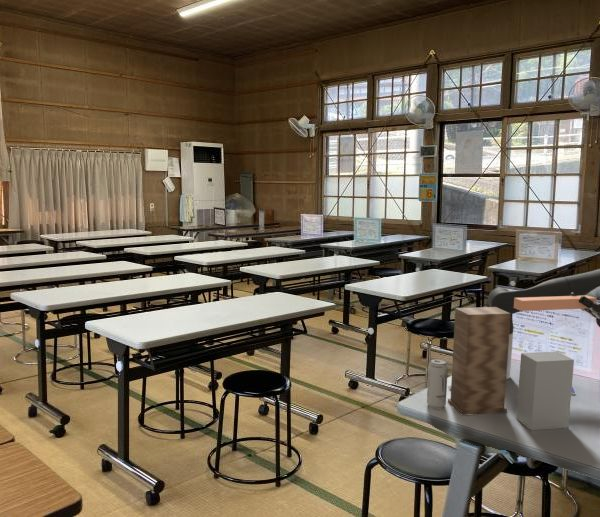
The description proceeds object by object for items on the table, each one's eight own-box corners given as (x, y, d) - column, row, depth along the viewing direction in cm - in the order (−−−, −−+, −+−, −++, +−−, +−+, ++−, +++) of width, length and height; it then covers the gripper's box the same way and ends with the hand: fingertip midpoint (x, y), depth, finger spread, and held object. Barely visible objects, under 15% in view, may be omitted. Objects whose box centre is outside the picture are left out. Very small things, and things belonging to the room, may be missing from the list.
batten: (521, 311, 159) (522, 300, 159) (513, 307, 163) (514, 297, 162) (595, 308, 163) (596, 298, 163) (586, 305, 167) (587, 295, 167)
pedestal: (461, 415, 173) (467, 315, 168) (447, 402, 183) (452, 307, 178) (506, 412, 176) (513, 313, 171) (490, 399, 186) (496, 306, 181)
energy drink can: (439, 411, 176) (442, 365, 174) (423, 406, 180) (425, 361, 178) (449, 405, 180) (451, 361, 178) (432, 400, 184) (434, 357, 182)
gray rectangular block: (531, 430, 163) (536, 361, 160) (516, 418, 171) (521, 353, 168) (568, 427, 165) (574, 359, 162) (551, 416, 173) (557, 351, 170)
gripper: (628, 340, 161) (585, 313, 157) (594, 327, 175) (554, 302, 171) (642, 318, 161) (599, 290, 157) (606, 307, 175) (566, 281, 171)
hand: (575, 297), depth 164 cm, fingers closed on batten, 4 cm apart
